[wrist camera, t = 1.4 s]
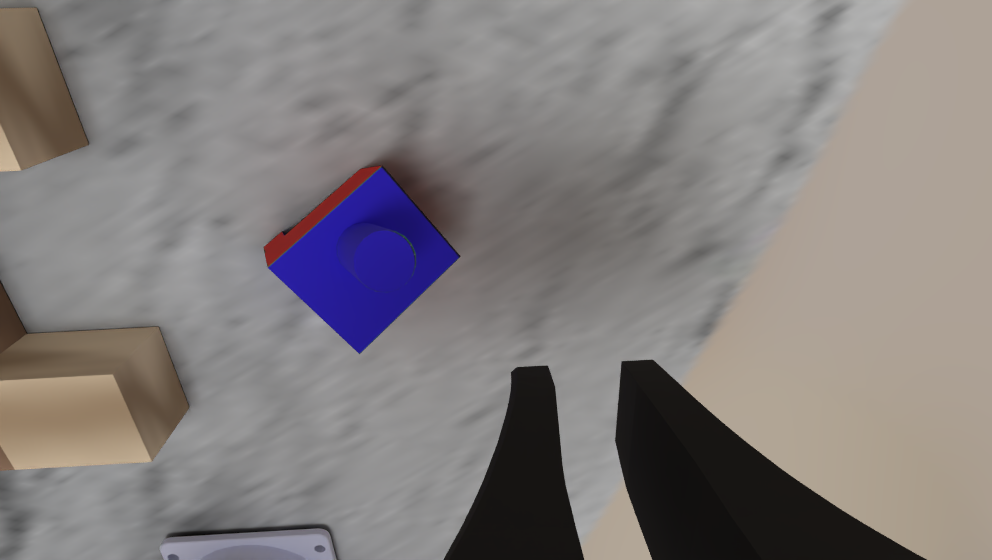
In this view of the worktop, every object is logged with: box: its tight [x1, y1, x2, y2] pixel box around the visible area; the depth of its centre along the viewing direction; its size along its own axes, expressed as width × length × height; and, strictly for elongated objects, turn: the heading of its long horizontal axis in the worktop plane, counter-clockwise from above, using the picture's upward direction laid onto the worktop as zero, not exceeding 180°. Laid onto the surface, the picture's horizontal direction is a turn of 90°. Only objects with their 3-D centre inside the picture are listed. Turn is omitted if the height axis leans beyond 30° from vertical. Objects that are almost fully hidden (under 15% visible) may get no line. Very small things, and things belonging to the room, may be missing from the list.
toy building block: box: [264, 166, 460, 354], centre depth 17 cm, size 4×4×8 cm
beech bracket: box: [0, 8, 189, 471], centre depth 18 cm, size 15×6×3 cm, turn 2°
